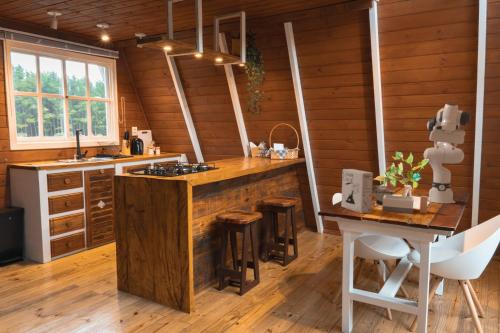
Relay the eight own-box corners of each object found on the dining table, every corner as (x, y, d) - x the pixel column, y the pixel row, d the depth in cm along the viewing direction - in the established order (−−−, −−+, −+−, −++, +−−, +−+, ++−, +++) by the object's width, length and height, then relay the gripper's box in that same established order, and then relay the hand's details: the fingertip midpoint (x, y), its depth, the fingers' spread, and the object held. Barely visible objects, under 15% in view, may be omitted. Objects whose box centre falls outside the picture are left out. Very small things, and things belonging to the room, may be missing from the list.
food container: (392, 204, 273) (393, 189, 272) (393, 205, 267) (393, 191, 266) (373, 202, 276) (374, 188, 275) (374, 204, 270) (374, 190, 269)
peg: (419, 211, 251) (420, 195, 250) (426, 211, 249) (427, 196, 248) (419, 212, 247) (420, 196, 246) (426, 213, 246) (427, 197, 245)
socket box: (383, 206, 264) (384, 194, 263) (412, 209, 257) (413, 197, 256) (382, 210, 251) (382, 198, 250) (412, 213, 244) (413, 200, 243)
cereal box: (341, 206, 262) (342, 169, 260) (350, 205, 265) (352, 168, 262) (361, 213, 242) (362, 173, 240) (371, 212, 245) (373, 172, 242)
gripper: (464, 130, 256) (461, 151, 257) (430, 127, 262) (427, 147, 263) (466, 129, 250) (463, 151, 251) (432, 126, 256) (429, 147, 257)
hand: (445, 149), depth 257 cm, fingers open, 8 cm apart
